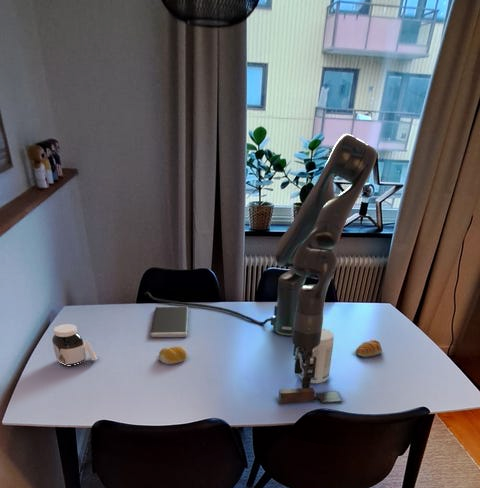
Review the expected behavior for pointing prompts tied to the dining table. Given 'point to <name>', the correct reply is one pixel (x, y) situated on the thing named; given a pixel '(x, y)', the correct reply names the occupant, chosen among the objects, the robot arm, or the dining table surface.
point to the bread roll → (172, 355)
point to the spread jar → (70, 346)
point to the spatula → (306, 396)
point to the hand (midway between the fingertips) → (301, 380)
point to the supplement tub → (322, 357)
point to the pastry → (369, 348)
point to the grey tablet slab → (170, 322)
